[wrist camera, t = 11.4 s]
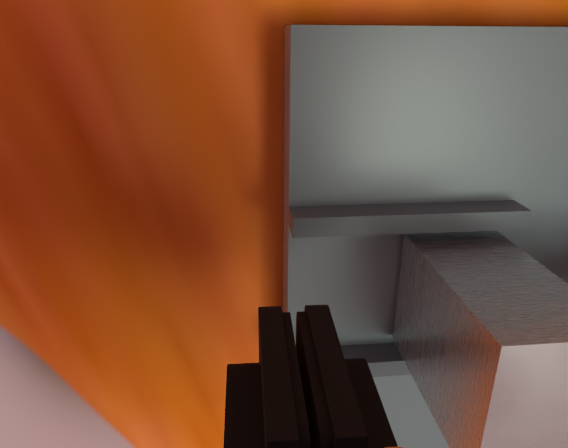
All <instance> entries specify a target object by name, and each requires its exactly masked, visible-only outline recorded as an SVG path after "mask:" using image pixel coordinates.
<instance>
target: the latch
mask: <svg viewBox="0 0 568 448" xmlns="http://www.w3.org/2000/svg"><path fill="white" fill-rule="evenodd" d="M392 339H393V341H394V343H395V345H396V347H397V349H398V351H399V353H400V355H401V356H402V358H403V360H404V362H405V364H406V366H407V368H408V370H409V372H410V374H411V376H412V377H413V379H414V381H415V383H416V385H417V387H418V389H419V391H420V393H421V395H422V396H423V398H424V400H425V402H426V404H427V406H428V408H429V410H430V412H431V414H432V415H433V417H434V419H435V421H436V423H437V425H438V427H439V429H440V431H441V433H442V435H443V436H444V438H445V440H446V442H447V444H448V446H449V448H568V284H567V283H566V282H564V281H563V280H562V279H560V278H559V277H558V276H556V275H555V274H554V273H552V272H551V271H550V270H548V269H547V268H546V267H544V266H543V265H542V264H540V263H539V262H538V261H537V260H535V259H534V258H533V257H531V256H530V255H529V254H527V253H526V252H525V251H523V250H522V249H521V248H519V247H518V246H517V245H515V244H514V243H513V242H511V241H510V240H509V239H507V238H506V237H505V236H503V235H502V234H501V233H499V232H498V231H471V232H444V233H416V234H404V237H403V246H402V255H401V264H400V274H399V283H398V292H397V301H396V311H395V320H394V329H393V338H392Z"/></svg>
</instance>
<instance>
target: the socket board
mask: <svg viewBox="0 0 568 448" xmlns="http://www.w3.org/2000/svg"><path fill="white" fill-rule="evenodd" d="M471 231H498V232H499V233H501V234H502V235H503V236H505V237H506V238H507V239H509V240H510V241H511V242H513V243H514V244H515V245H517V246H518V247H519V248H521V249H522V250H523V251H525V252H526V253H527V254H529V255H530V256H531V257H533V258H534V259H535V260H537V261H538V262H539V263H540V264H542V265H543V266H544V267H546V268H547V269H548V270H550V271H551V272H552V273H554V274H555V275H556V276H558V277H559V278H560V279H562V280H563V281H564V282H566V283H567V284H568V27H513V26H387V25H285V75H284V231H283V312H290V314H291V320H292V326H293V332H294V339H295V345H296V314H297V312H302V311H304V309H305V305H328V306H329V309H330V312H331V315H332V319H333V322H334V325H335V329H336V332H337V335H338V339H339V342H340V345H341V349H342V352H343V355H344V358H345V359H353V358H364V359H365V360H366V361H367V363H368V366H369V368H370V371H371V374H372V377H373V379H374V382H375V385H376V388H377V390H378V393H379V396H380V399H381V401H382V404H383V407H384V410H385V412H386V415H387V418H388V421H389V423H390V426H391V429H392V432H393V434H394V437H395V440H396V443H397V445H398V447H403V448H449V446H448V444H447V442H446V440H445V438H444V436H443V435H442V433H441V431H440V429H439V427H438V425H437V423H436V421H435V419H434V417H433V415H432V414H431V412H430V410H429V408H428V406H427V404H426V402H425V400H424V398H423V396H422V395H421V393H420V391H419V389H418V387H417V385H416V383H415V381H414V379H413V377H412V376H411V374H410V372H409V370H408V368H407V366H406V364H405V362H404V360H403V358H402V356H401V355H400V353H399V351H398V349H397V347H396V345H395V343H394V341H393V339H392V338H393V329H394V320H395V311H396V301H397V292H398V283H399V274H400V264H401V255H402V246H403V237H404V234H416V233H444V232H471Z"/></svg>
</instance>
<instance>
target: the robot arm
mask: <svg viewBox="0 0 568 448" xmlns="http://www.w3.org/2000/svg"><path fill="white" fill-rule="evenodd" d="M258 316H259V363H245V364H228V365H227V382H226V406H225V430H224V448H403V447H398V445H397V443H396V440H395V437H394V434H393V432H392V429H391V426H390V423H389V421H388V418H387V415H386V412H385V410H384V407H383V404H382V401H381V399H380V396H379V393H378V390H377V388H376V385H375V382H374V379H373V377H372V374H371V371H370V368H369V366H368V363H367V361H366V360H365V359H364V358H353V359H345V358H344V355H343V352H342V349H341V345H340V342H339V339H338V335H337V332H336V329H335V325H334V322H333V319H332V315H331V312H330V309H329V306H328V305H305V309H304V311H302V312H297V314H296V345H295V339H294V332H293V326H292V320H291V314H290V312H282V309H281V306H274V307H259V308H258Z"/></svg>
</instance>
